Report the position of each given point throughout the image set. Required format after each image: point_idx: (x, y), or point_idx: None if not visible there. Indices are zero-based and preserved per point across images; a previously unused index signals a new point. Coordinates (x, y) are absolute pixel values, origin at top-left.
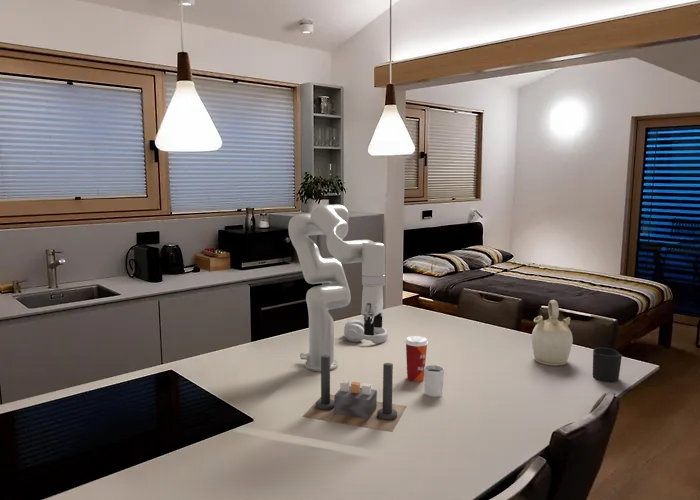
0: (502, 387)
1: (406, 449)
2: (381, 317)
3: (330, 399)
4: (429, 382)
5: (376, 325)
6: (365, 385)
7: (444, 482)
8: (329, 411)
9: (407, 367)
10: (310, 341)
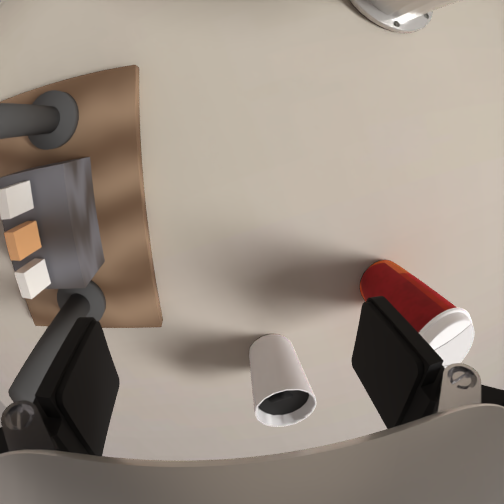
0: (355, 423)
1: (25, 347)
2: (391, 426)
3: (72, 120)
4: (253, 382)
5: (363, 339)
6: (20, 283)
7: (6, 393)
8: (33, 148)
9: (388, 279)
10: None
